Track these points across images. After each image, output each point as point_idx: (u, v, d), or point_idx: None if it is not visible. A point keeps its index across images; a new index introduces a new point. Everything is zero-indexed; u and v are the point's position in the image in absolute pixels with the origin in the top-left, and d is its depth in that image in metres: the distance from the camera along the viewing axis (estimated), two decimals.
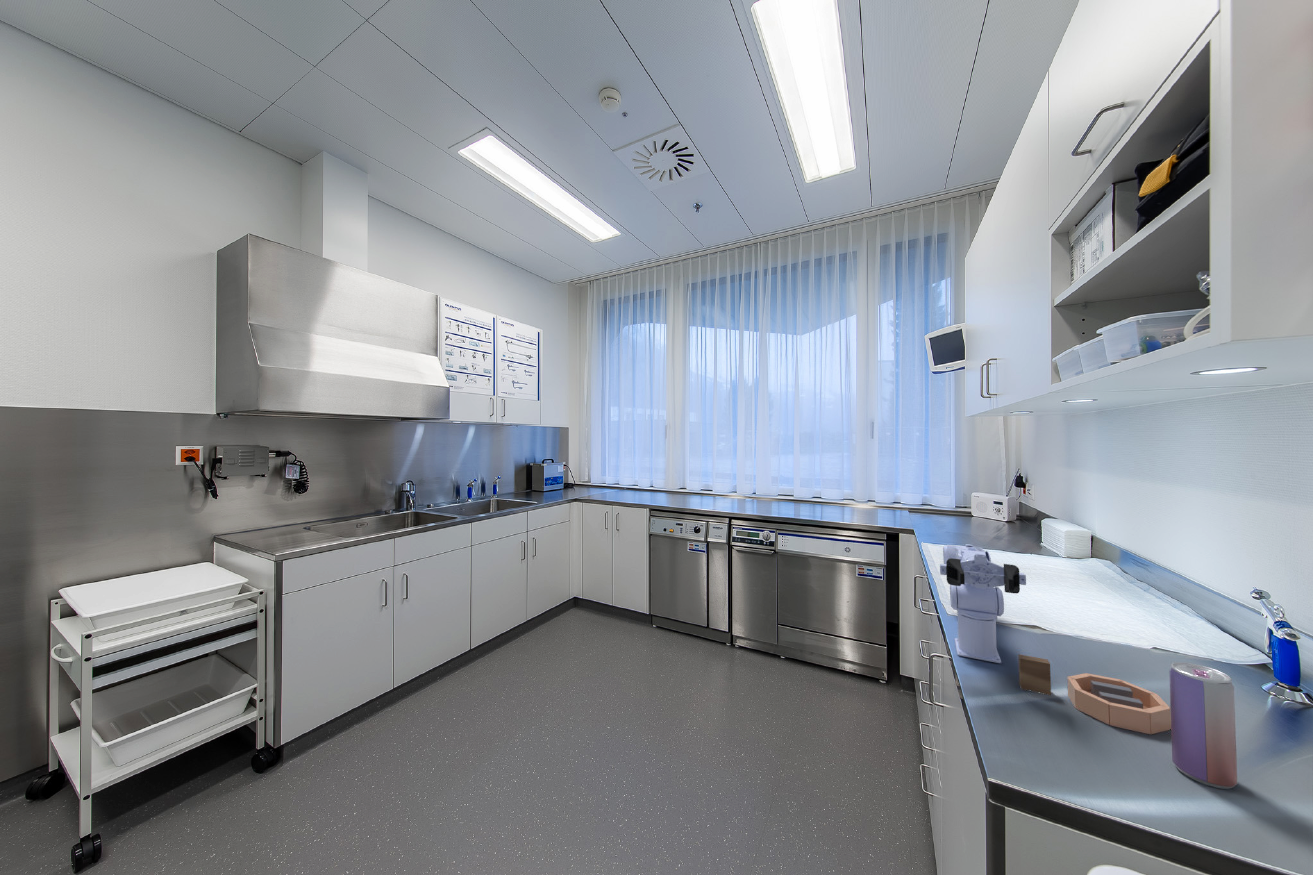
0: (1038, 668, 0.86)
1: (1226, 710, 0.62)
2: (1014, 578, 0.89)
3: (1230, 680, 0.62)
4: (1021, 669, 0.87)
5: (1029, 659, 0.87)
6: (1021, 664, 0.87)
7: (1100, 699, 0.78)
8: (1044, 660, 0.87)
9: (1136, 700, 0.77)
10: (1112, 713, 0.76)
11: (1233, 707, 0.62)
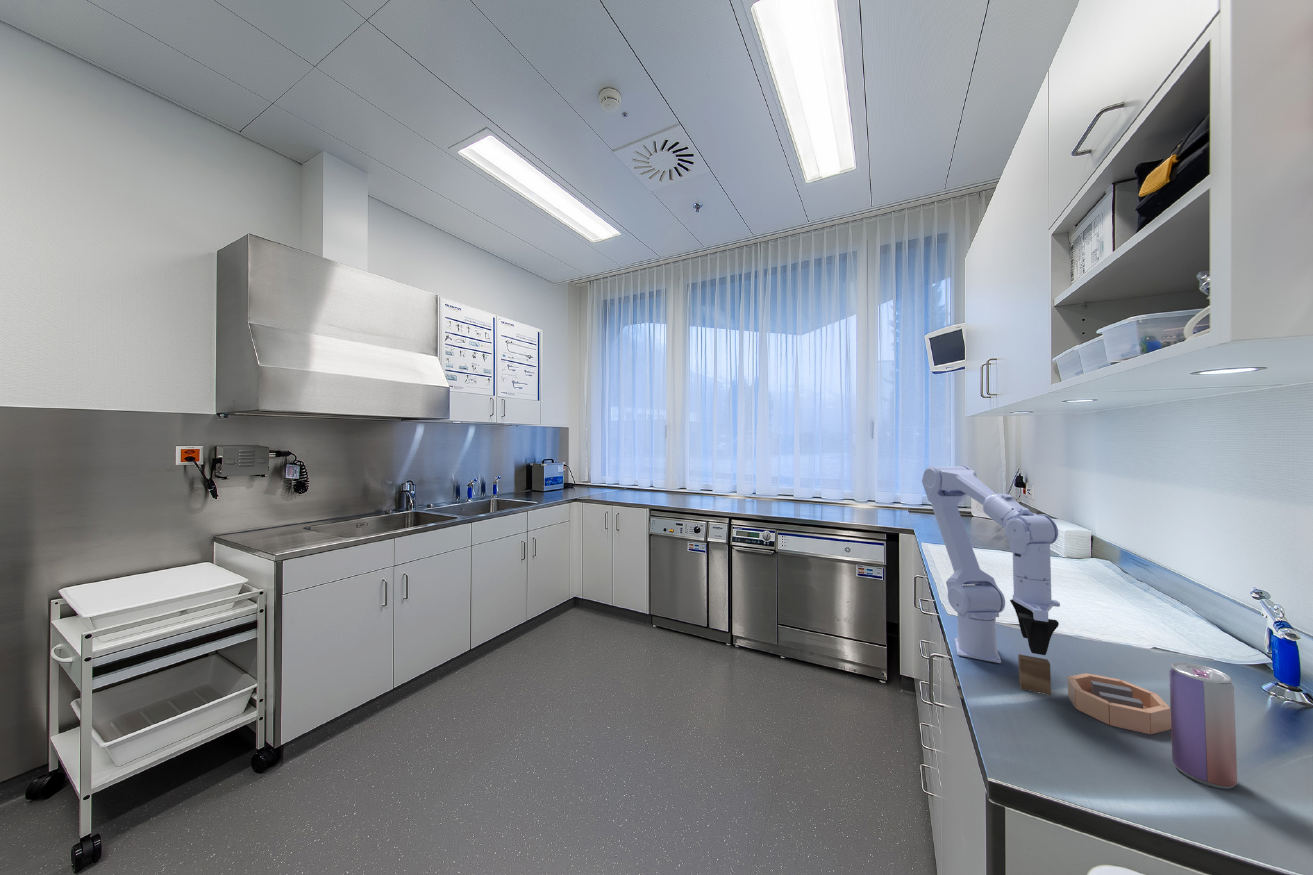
0: (1038, 668, 0.86)
1: (1226, 710, 0.62)
2: None
3: (1230, 680, 0.62)
4: (1021, 669, 0.87)
5: (1029, 659, 0.87)
6: (1021, 664, 0.87)
7: (1100, 699, 0.78)
8: (1044, 660, 0.87)
9: (1136, 700, 0.77)
10: (1112, 713, 0.76)
11: (1233, 707, 0.62)
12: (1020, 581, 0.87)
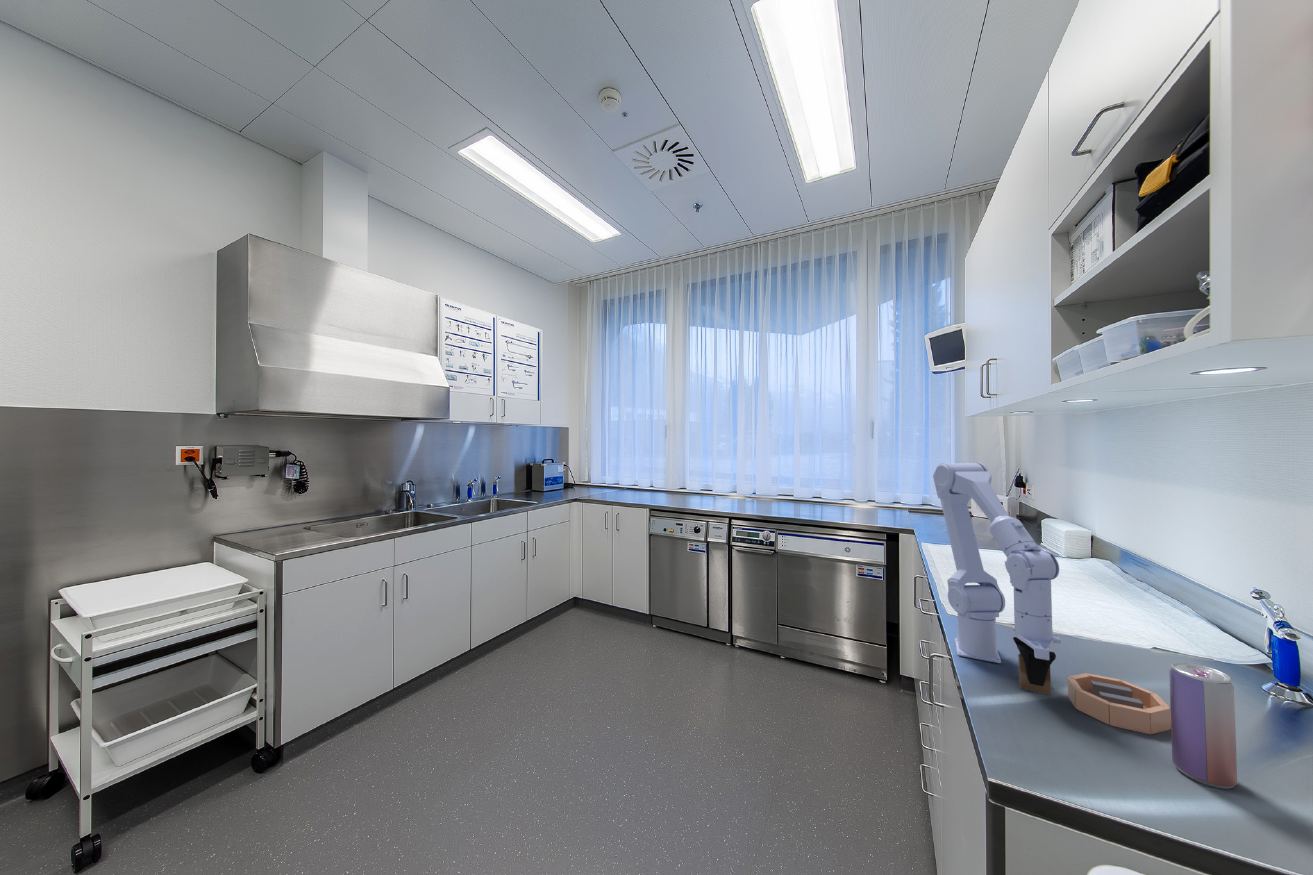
0: None
1: (1226, 710, 0.62)
2: None
3: (1230, 680, 0.62)
4: (1021, 669, 0.87)
5: None
6: (1021, 664, 0.87)
7: (1100, 699, 0.78)
8: None
9: (1136, 700, 0.77)
10: (1112, 713, 0.76)
11: (1233, 707, 0.62)
12: (1021, 617, 0.87)
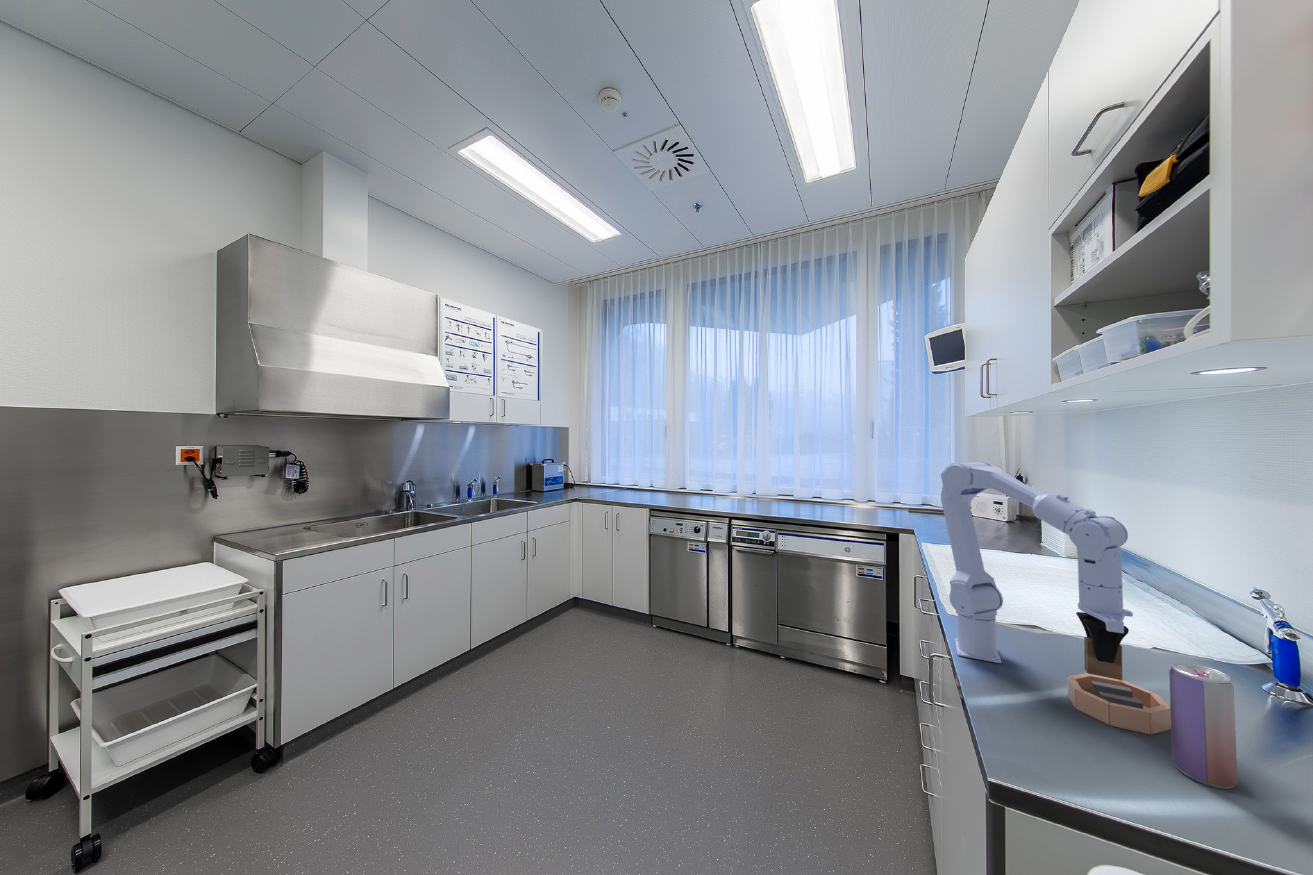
0: None
1: (1226, 710, 0.62)
2: None
3: (1230, 680, 0.62)
4: (1088, 652, 0.81)
5: None
6: (1088, 647, 0.81)
7: (1100, 699, 0.78)
8: None
9: (1136, 700, 0.77)
10: (1112, 713, 0.76)
11: (1233, 707, 0.62)
12: (1088, 589, 0.81)
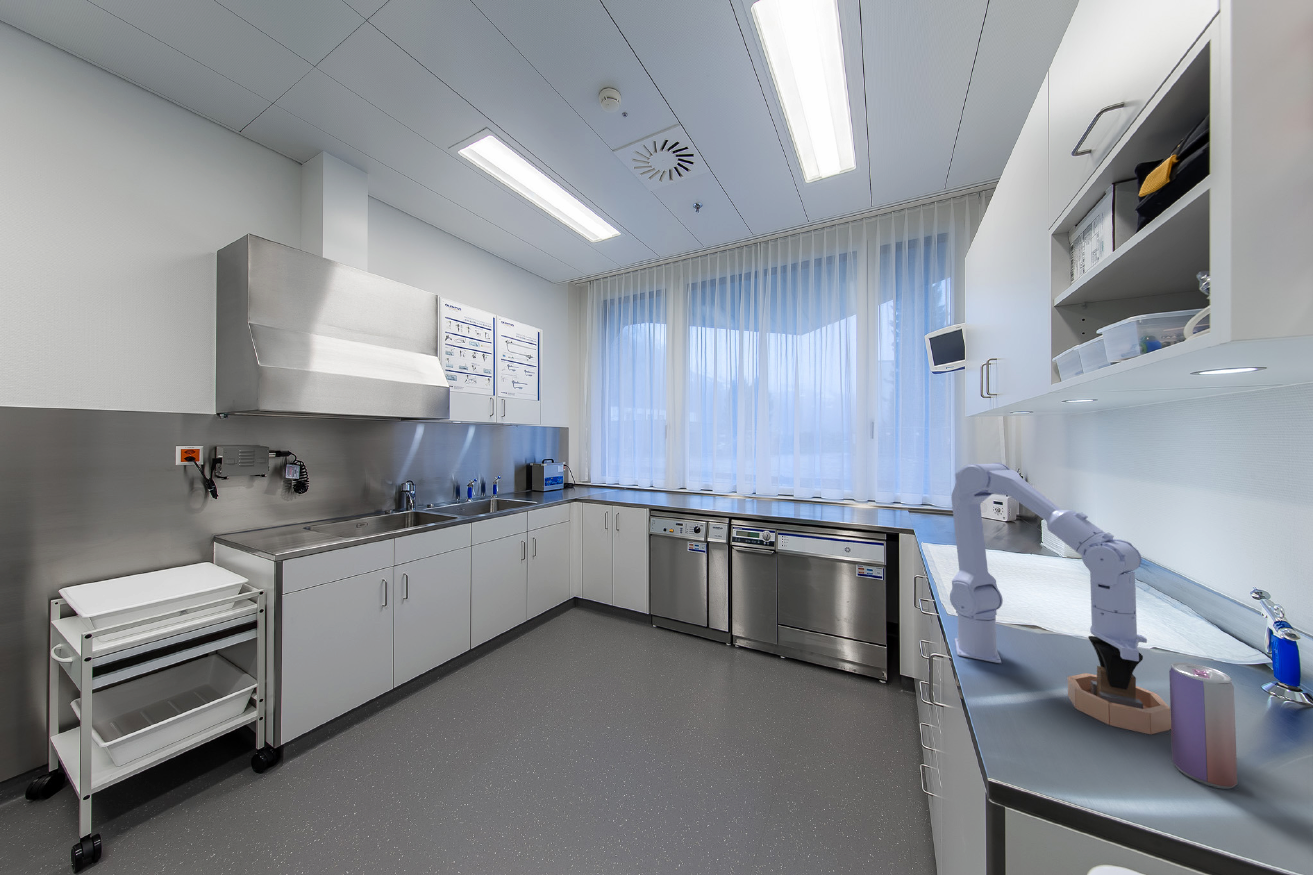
0: None
1: (1226, 710, 0.62)
2: None
3: (1230, 680, 0.62)
4: (1101, 682, 0.80)
5: None
6: (1101, 677, 0.80)
7: (1100, 699, 0.78)
8: None
9: (1136, 700, 0.77)
10: (1112, 713, 0.76)
11: (1233, 707, 0.62)
12: (1101, 614, 0.80)
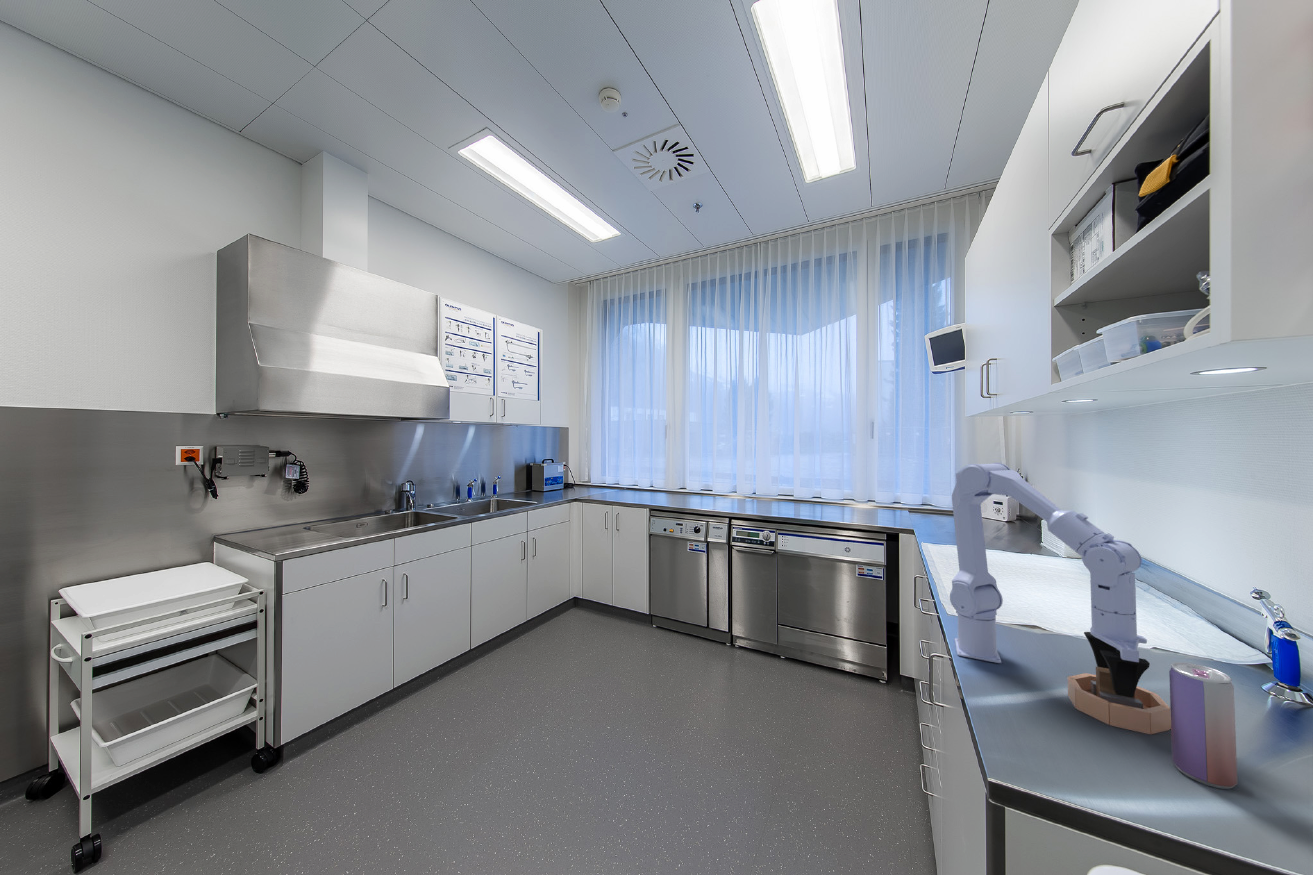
0: None
1: (1226, 710, 0.62)
2: None
3: (1230, 680, 0.62)
4: (1100, 683, 0.80)
5: None
6: (1100, 677, 0.80)
7: (1100, 699, 0.78)
8: None
9: (1136, 700, 0.77)
10: (1112, 713, 0.76)
11: (1233, 707, 0.62)
12: (1101, 614, 0.80)
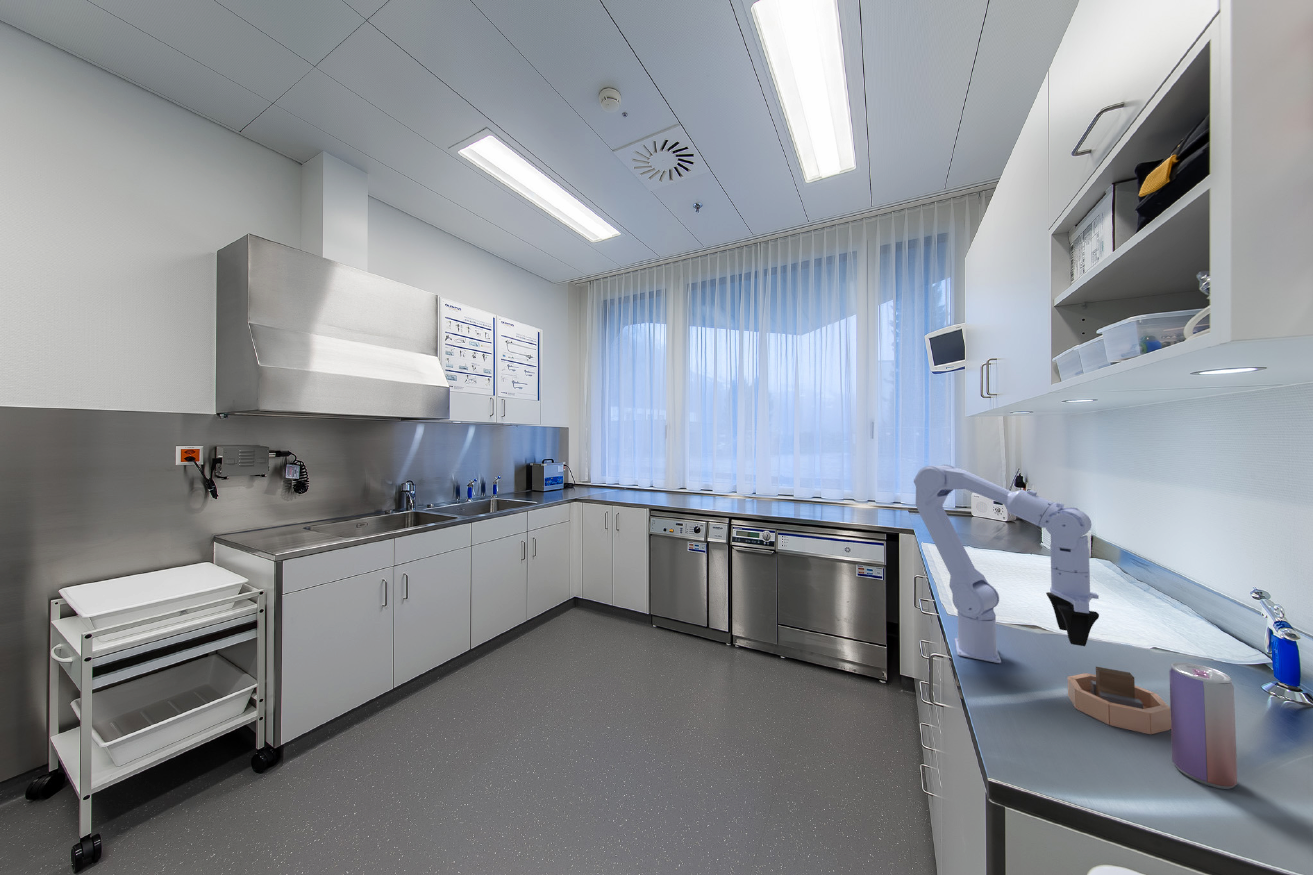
0: (1120, 682, 0.79)
1: (1226, 710, 0.62)
2: None
3: (1230, 680, 0.62)
4: (1100, 683, 0.80)
5: (1110, 672, 0.80)
6: (1100, 677, 0.80)
7: (1100, 699, 0.78)
8: (1126, 673, 0.79)
9: (1136, 700, 0.77)
10: (1112, 713, 0.76)
11: (1233, 707, 0.62)
12: (1059, 574, 0.89)
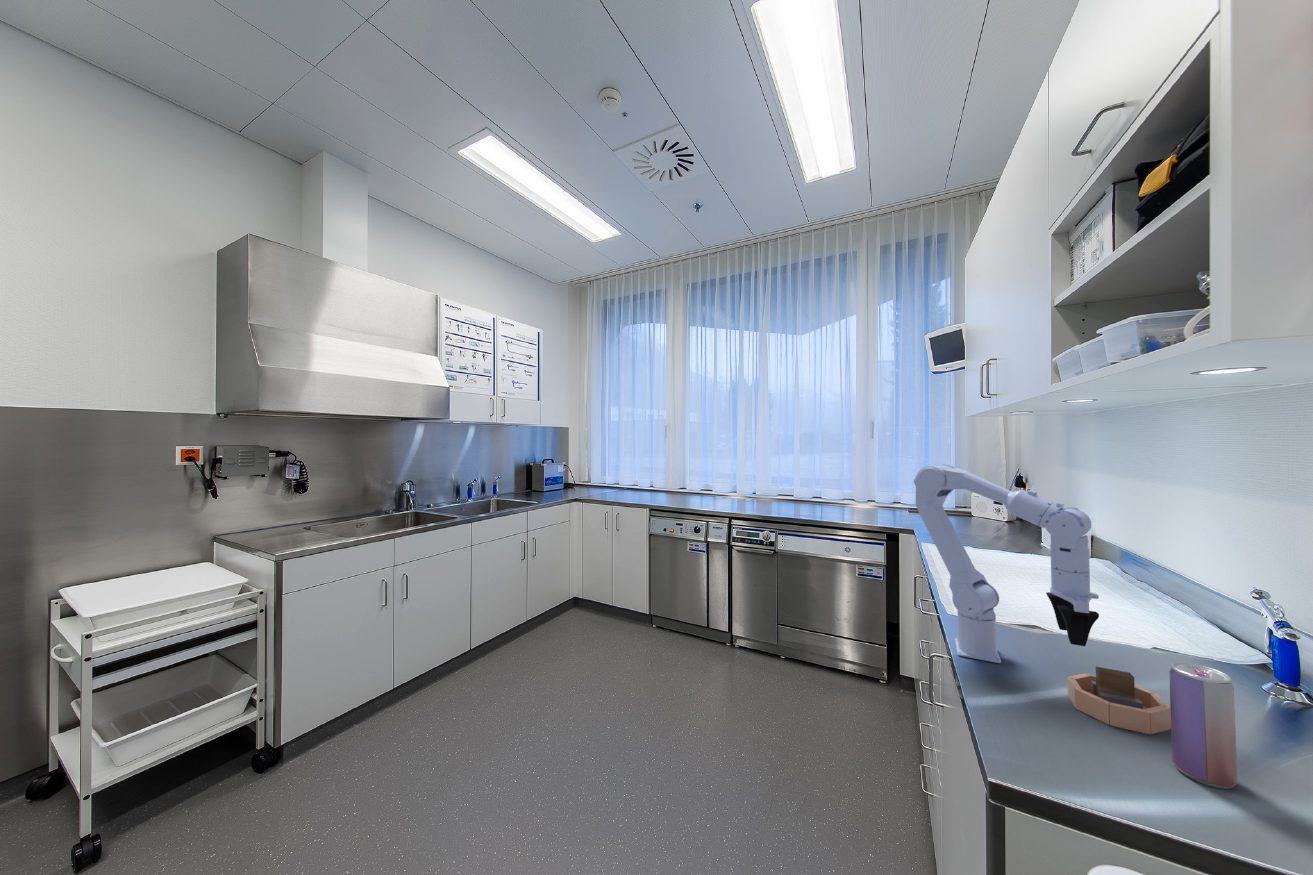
0: (1120, 682, 0.79)
1: (1226, 710, 0.62)
2: None
3: (1230, 680, 0.62)
4: (1100, 683, 0.80)
5: (1109, 672, 0.80)
6: (1100, 677, 0.80)
7: (1100, 699, 0.78)
8: (1126, 673, 0.79)
9: (1136, 700, 0.77)
10: (1112, 713, 0.76)
11: (1233, 707, 0.62)
12: (1059, 574, 0.89)
